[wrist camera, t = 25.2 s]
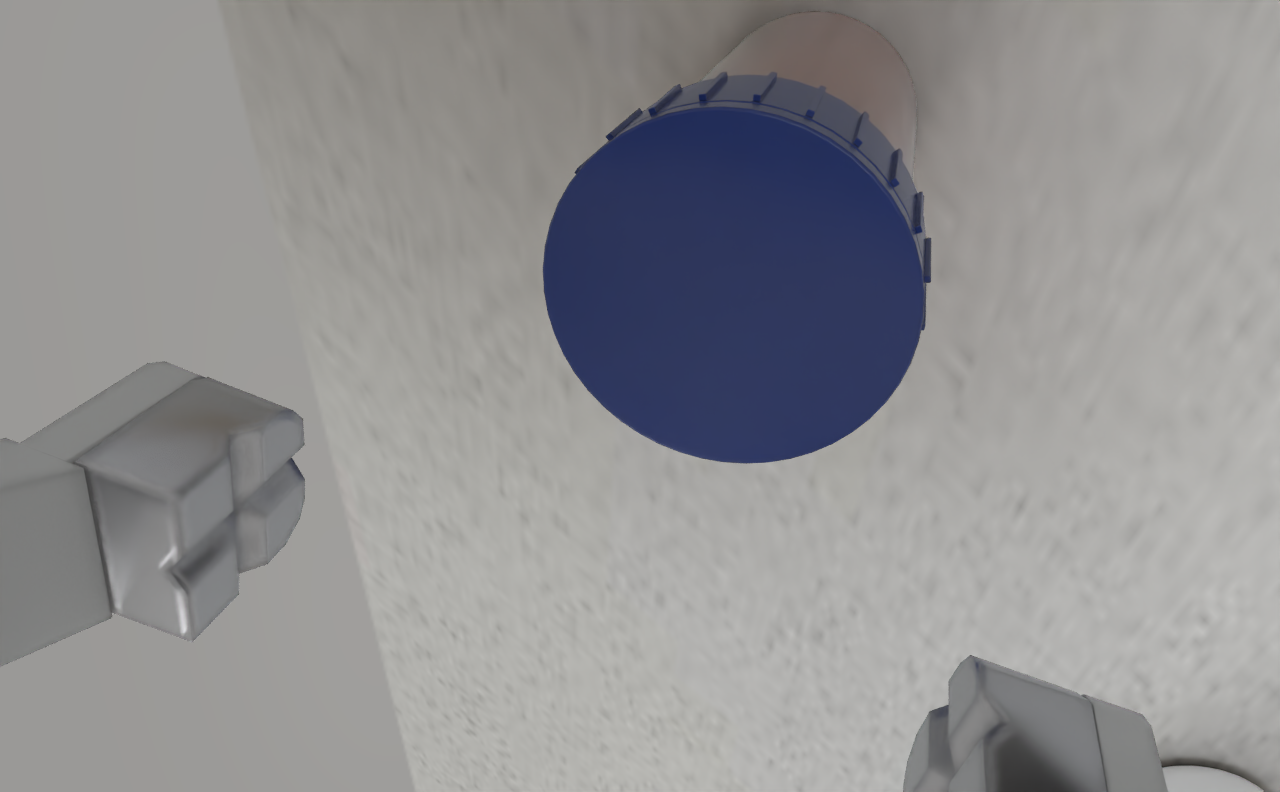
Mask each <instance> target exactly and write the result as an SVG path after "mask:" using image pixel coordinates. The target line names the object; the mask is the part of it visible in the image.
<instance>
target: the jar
mask: <svg viewBox="0 0 1280 792" xmlns="http://www.w3.org/2000/svg"><path fill="white" fill-rule="evenodd" d="M721 72H727V75H728V76H734V75H749V74H750V75H764V76H768V75H769V74H770V72H777V77H780V78H785V79H789V80H794V81H799V82H801V83H804V84H807V85H810V86H813V87H815V88H819V87H820V85H822V86H824V87H826V90H825V92H827V93H829V94H831V95H833V96H835V97H836V98H838V99H840V100H842V101H844V102H845V103H847V104H848V105H850V106H851V107H852V108H854V109H855V110H857V111H858V112H859V113H861V114H863V112H864V111H865V112H867V113H868V114H869V115H870V116H869V121H870V122H871V123H872V124H873V125H874V126H875V127H876V128H877V129H879V130H880V131H881V132H882V133H883V135H884V136H885V137H886V138H887V140H888V141H889V142H890V144H891V145H892V146H893V147H894V149H895V150H897V149H898V148H900V149H901V150H902V152H903V159H902V161H903V163H904V164H905V166H906V168H907V170H908V171H909V173H910V176H911V178H912V180H913V173H914V159H915V145H916V131H917V100H916V94H915V90H914V85H913V82H912V79H911V77H910V74H909V71H908V69H907V67H906V65H905V64H904V62H903V60H902V58H901V56H900V55H899V54H898V53H897V51H896V50H895V49H894V47H893V46H892V45H891V44H890V43H889V42H888V41H887V40H886V39H885V38H884V37H883V36H882V35H881V34H879V33H878V32H877V31H875V30H874V29H873V28H871V27H870V26H868V25H866V24H864V23H862V22H860V21H858V20H856V19H854V18H851V17H848V16H845V15H842V14H837V13H832V12H821V11H810V12H799V13H794V14H790V15H786V16H783V17H780V18H778V19H775V20H772V21H770V22H768V23H766V24H765V25H763V26H761V27H759V28H758V29H756V30H755V31H753V32H752V33H751V34H749V35H748V36H747V37H746V38H745V39H744V40H742V41H741V42H740V43H739V44H738V45H737V46H736V47H735V48H734V49H733V50H732V51H731V52H730V53H729V54H728V55H727V56H726V57H725V58H723V59H722V60H721V61H720V62H719V63H718V64H717V65H716V66H715V67H714V68H713V69H712V70H711V71H710V72H709V73H708V74H707V75H706V76H705V77H703V78H702V79H701V80H700V81H704V80H709V79H714V78H716V77H717V76H718V75H719V74H720V73H721ZM700 81H699V82H700Z"/></svg>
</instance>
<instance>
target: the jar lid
mask: <svg viewBox="0 0 1280 792" xmlns="http://www.w3.org/2000/svg"><path fill="white" fill-rule="evenodd" d="M825 90H826V87H824V86H822V85H820V87H819V88H815V87H813V86H810V85H807V84H804V83H801V82H799V81H794V80H789V79H785V78H780V77H777V72H770V74H769V75H768V76H764V75H750V74H749V75H734V76H728V75H727V72H721V73H720V74H719V75H718V76H717V77H716V78H714V79H709V80H704V81H700V82H698V83H695V84H692V85H689V86H686V87H684V88H681V86H680V84H678V85H676V86H674V87H673V88H672V89H671V90H670V91H668V92H667V93H666V94H665V95H664V96H663V97H662V98H660V99H659V100H658V101H657V102H656V103H654V104H653V105H651V106H650V107H649V108H647V109H646V110H644V111H643V112H642V111H641V109H640V108H639V109H638V110H636V111H635V112H634V113H633V114H632V115H630V116H629V117H628V118H627V119H626V120H625V121H623V122H622V123H621V124H620V125H619V126H617V127H616V128H615V129H614V130H613V131H612V132H610V133H609V134H608V135H607V136H606V138H607V139H608V140H609V141H608V142H607V143H606V144H605V145H604V146H602V147H601V148H600V149H599V150H598V151H597V152H595V153H594V154H593V155H592V156H591V157H590V158H589V159H587V160H586V161H585V162H584V163H583V164H582V165H580V166H579V167H578V168H577V170H576V171H575V174H576V175H575V176H574V178H573V179H572V180H571V182H570V183H569V185H568V186H567V188H566V190H565V192H564V194H563V195H562V197H561V199H560V201H559V202H558V205H557V207H556V210H555V213H554V215H553V218H552V220H551V223H550V226H549V231H548V235H547V239H546V244H545V251H544V262H543V280H544V294H545V300H546V305H547V311H548V315H549V318H550V321H551V325H552V328H553V331H554V334H555V336H556V339H557V341H558V343H559V345H560V347H561V350H562V352H563V354H564V356H565V357H566V359H567V361H568V362H569V364H570V366H571V367H572V369H573V371H574V372H575V374H576V375H577V376H578V378H579V379H580V380H581V382H582V383H583V384H584V386H585V387H586V388H587V390H588V391H589V392H590V393H591V394H592V395H593V396H594V397H595V398H596V399H597V400H598V401H599V402H600V403H601V404H602V405H603V406H604V407H605V408H606V409H607V410H608V411H610V412H611V413H612V414H613V415H614V416H615V417H617V418H618V419H619V420H620V421H622V422H623V423H625V424H626V425H628V426H629V427H631V428H632V429H633V430H635V431H636V432H638V433H640V434H641V435H643V436H645V437H647V438H649V439H651V440H653V441H655V442H656V443H658V444H661V445H663V446H666V447H668V448H671V449H673V450H676V451H678V452H681V453H685V454H688V455H692V456H695V457H699V458H703V459H709V460H714V461H720V462H730V463H766V462H773V461H780V460H786V459H791V458H795V457H798V456H802V455H805V454H809V453H812V452H814V451H817V450H819V449H821V448H824V447H826V446H829V445H831V444H833V443H835V442H836V441H838V440H840V439H842V438H843V437H845V436H847V435H848V434H850V433H852V432H853V431H854V430H856V429H857V428H858V427H860V426H861V425H862V424H864V423H865V422H866V421H867V420H869V419H870V418H871V417H872V416H873V415H874V414H875V413H876V412H877V411H878V410H879V409H880V408H881V407H882V406H883V405H884V404H885V403H886V402H887V400H888V399H889V398H890V396H891V395H892V394H893V392H894V391H895V390H896V388H897V387H898V386H899V384H900V383H901V381H902V379H903V377H904V375H905V373H906V371H907V369H908V368H909V366H910V364H911V361H912V359H913V356H914V353H915V350H916V348H917V345H918V342H919V338H920V333H921V330H924V328H925V320H926V283H930V282H931V238H926V234H925V224H924V216H923V210H924V195H923V192H919V193H917V190H916V188H915V185H914V183H913V180H912V178H911V176H910V173H909V171H908V170H907V168H906V166H905V164H904V163H903V161H902V159H903V152H902V150H901V149H900V148H898V149H897V150H895V149H894V147H893V146H892V145H891V144H890V142H889V141H888V140H887V138H886V137H885V136H884V135H883V133H882V132H881V131H880V130H879V129H877V128H876V127H875V126H874V125H873V124H872V123H871V122H870V121H869V116H870V115H869V114H868V113H867V112H865V111H864V112H863V114H861V113H859V112H858V111H857V110H855V109H854V108H852V107H851V106H850V105H848V104H847V103H845V102H844V101H842V100H840V99H838V98H836V97H835V96H833V95H831V94H829V93H827V92H825Z"/></svg>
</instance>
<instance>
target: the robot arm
mask: <svg viewBox="0 0 1280 792" xmlns="http://www.w3.org/2000/svg"><path fill="white" fill-rule="evenodd" d="M303 446H304V429H303V419H302V418H301V417H300V416H299V415H298V414H297V413H295V412H294V411H293V410H291V409H288V408H285V407H283V406H281V405H278V404H275V403H273V402H270V401H268V400H265V399H263V398H260V397H257V396H255V395H252V394H250V393H247V392H244V391H242V390H240V389H237V388H234V387H232V386H229V385H227V384H224V383H222V382H219V381H216V380H214V379H211V378H209V377H207V378H205V377H202V376H200V375H198V374H195V373H193V372H190V371H188V370H185V369H183V368H180V367H178V366H175V365H173V364H170V363H167V362H156V363H147V364H146V365H144V366H142V367H141V368H139V369H138V370H136V371H135V372H133V373H131V374H130V375H128V376H126V377H125V378H123V379H122V380H120V381H118V382H117V383H115V384H114V385H112V386H110V387H109V388H107V389H106V390H104V391H102V392H101V393H99V394H98V395H96V396H94V397H93V398H91V399H90V400H88V401H87V402H85V403H83V404H82V405H80V406H78V407H77V408H75V409H74V410H72V411H70V412H69V413H67V414H66V415H64V416H62V417H61V418H59V419H58V420H56V421H54V422H53V423H51V424H50V425H48V426H47V427H45V428H43V429H42V430H40V431H38V432H37V433H35V434H34V435H32V436H31V437H29V438H27V439H26V440H24V441H23V442H21V443H18V442H15V441H12V440H10V439H7V438H3V439H0V667H1V666H3V665H5V664H8V663H10V662H12V661H14V660H17V659H19V658H21V657H24V656H26V655H28V654H31V653H33V652H35V651H37V650H40V649H42V648H44V647H47V646H49V645H51V644H53V643H56V642H58V641H60V640H62V639H65V638H67V637H69V636H72V635H74V634H76V633H78V632H81V631H83V630H85V629H88V628H90V627H92V626H94V625H97V624H99V623H101V622H104V621H106V620H108V619H110V618H111V617H112V613H115V614H118V615H120V616H123V617H125V618H128V619H131V620H133V621H136V622H139V623H142V624H144V625H147V626H150V627H152V628H155V629H158V630H161V631H163V632H166V633H169V634H171V635H174V636H177V637H179V638H182V639H185V640H187V641H190V642H193V641H194V640H195V639H196V638H197V637H198V636H199V635H200V634H201V633H202V632H203V631H204V630H205V629H206V628H207V627H208V626H209V624H210V623H211V622H212V621H213V620H214V619H215V618H216V617H217V616H218V615H219V614H220V613H221V612H222V611H223V610H224V609H225V608H226V607H227V606H228V605H229V604H230V603H231V602H232V601H233V600H234V599H235V598H236V597H237V595H239V574H240V573H243V572H246V571H249V570H251V569H254V568H257V567H260V566H263V565H266V564H268V563H269V562H270V561H271V560H272V559H273V558H274V556H275V555H276V554H277V553H278V552H279V551H280V550H281V549H282V548H283V547H284V546H285V545H286V543H287V541H288V539H289V537H290V535H291V534H292V532H293V530H294V528H295V526H296V525H297V523H298V521H299V519H300V515H301V511H302V507H303V503H304V499H305V479H304V477H303V475H302V474H301V472H300V470H299V469H298V467H297V466H296V464H295V462H294V461H293V459H292V458H291V457H292V456H293V455H294V454H295V453H296V452H297V451H299V450H300V449H301V448H302V447H303ZM903 792H1168V790H1167V786H1166V782H1165V778H1164V774H1163V770H1162V766H1161V762H1160V758H1159V754H1158V750H1157V746H1156V742H1155V738H1154V735H1153V731H1152V727H1151V725H1150V724H1149V722H1148V721H1147V720H1146V718H1145V717H1144V716H1143V715H1142V714H1140V713H1137V712H1134V711H1131V710H1128V709H1125V708H1122V707H1119V706H1116V705H1113V704H1111V703H1108V702H1105V701H1102V700H1099V699H1096V698H1093V697H1090V696H1087V695H1080V694H1078V693H1077V692H1074V691H1071V690H1068V689H1065V688H1063V687H1060V686H1057V685H1054V684H1051V683H1048V682H1046V681H1043V680H1040V679H1037V678H1034V677H1031V676H1029V675H1026V674H1023V673H1020V672H1017V671H1014V670H1012V669H1009V668H1006V667H1003V666H1000V665H997V664H995V663H992V662H989V661H986V660H983V659H980V658H978V657H975V656H972V655H970V656H969V657H967V658H966V659H965V660H964V661H962V662H961V663H960V664H959V666H958V667H957V669H956V670H955V672H954V674H953V675H952V677H951V678H950V680H949V705H947V706H944V707H941V708H938V709H935V710H932V711H930V712H929V714H928V715H927V717H926V719H925V721H924V722H923V724H922V726H921V728H920V729H919V731H918V733H917V735H916V738H915V741H914V744H913V747H912V749H911V752H910V755H909V758H908V761H907V767H906V773H905V779H904V785H903Z"/></svg>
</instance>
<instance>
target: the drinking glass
mask: <svg viewBox="0 0 1280 792" xmlns="http://www.w3.org/2000/svg"><path fill="white" fill-rule="evenodd" d="M1162 770H1163V774H1164V778H1165V782H1166V786H1167V790H1168V792H1265V791H1263V790H1262V789H1261V788H1259V787H1258V786H1257V785H1255V784H1253V783H1252V782H1250V781H1248V780H1246V779H1244V778H1242V777H1240V776H1238V775H1235V774H1233V773H1230V772H1226V771H1223V770H1219V769H1215V768H1209V767H1202V766H1185V765H1183V766H1170V767H1163V768H1162Z"/></svg>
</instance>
